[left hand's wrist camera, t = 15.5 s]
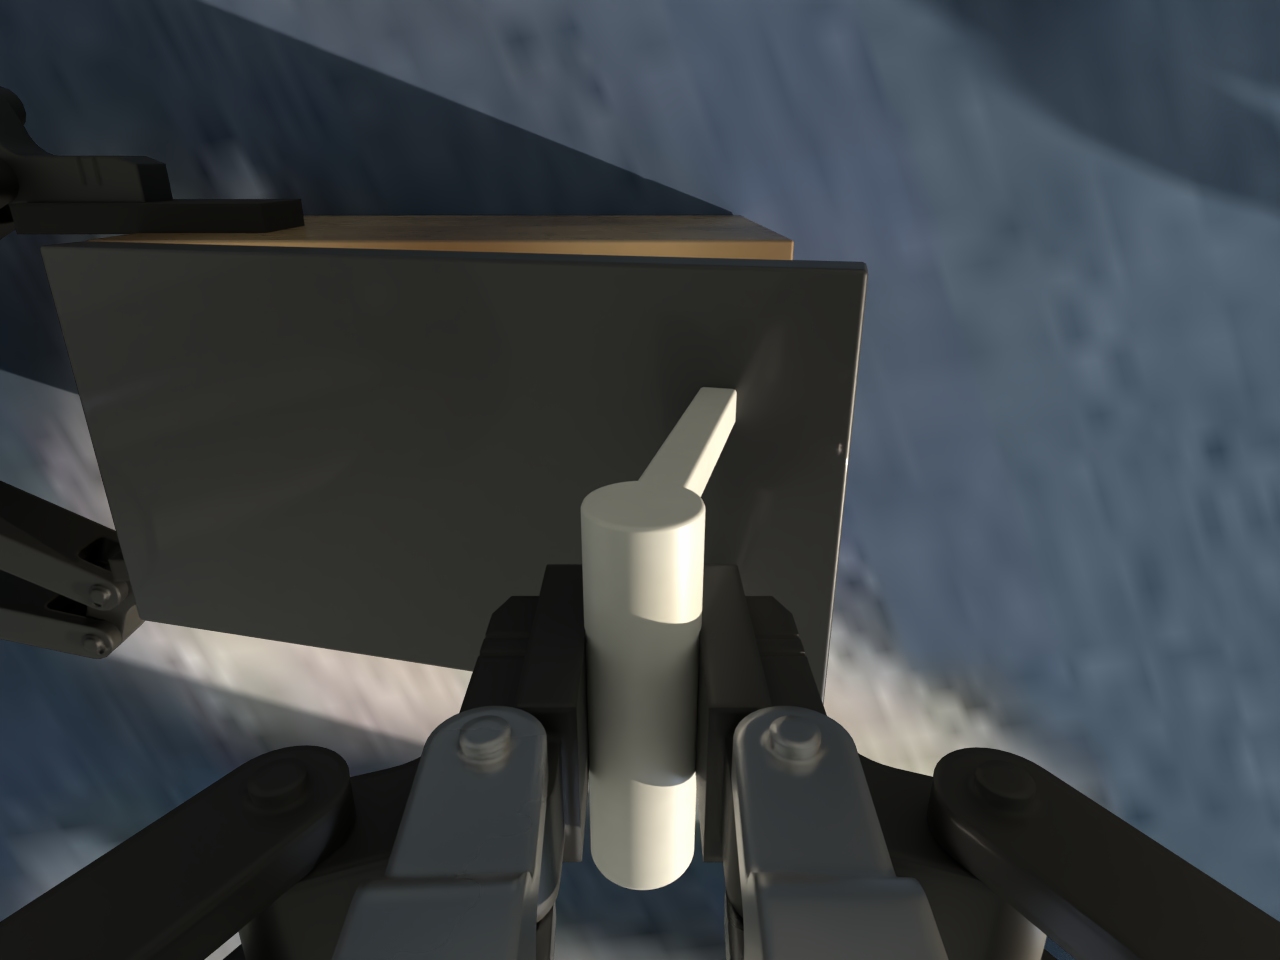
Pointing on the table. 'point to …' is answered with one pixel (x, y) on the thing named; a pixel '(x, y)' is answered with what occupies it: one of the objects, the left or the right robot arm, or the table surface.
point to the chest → (516, 235)
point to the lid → (477, 462)
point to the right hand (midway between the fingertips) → (312, 396)
